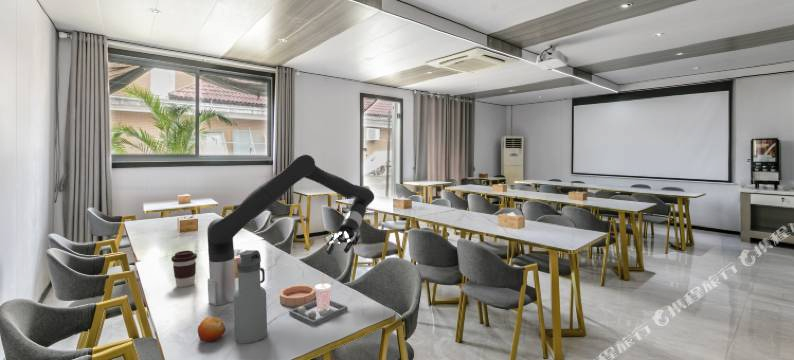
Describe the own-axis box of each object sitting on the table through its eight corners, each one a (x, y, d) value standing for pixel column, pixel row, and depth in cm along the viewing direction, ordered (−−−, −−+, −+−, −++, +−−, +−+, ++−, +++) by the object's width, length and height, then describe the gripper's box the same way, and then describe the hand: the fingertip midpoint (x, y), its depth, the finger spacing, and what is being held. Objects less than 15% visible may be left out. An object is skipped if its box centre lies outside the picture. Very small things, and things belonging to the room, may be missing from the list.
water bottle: (243, 328, 124) (241, 247, 122) (272, 328, 123) (269, 247, 121) (229, 344, 113) (225, 256, 111) (260, 344, 113) (257, 256, 111)
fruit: (198, 329, 120) (210, 309, 120) (220, 340, 121) (232, 320, 121) (186, 342, 112) (199, 320, 112) (209, 354, 113) (222, 332, 112)
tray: (313, 325, 125) (313, 321, 125) (289, 314, 134) (289, 310, 134) (347, 310, 138) (347, 306, 138) (323, 301, 146) (323, 297, 146)
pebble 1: (300, 317, 132) (300, 309, 132) (295, 314, 134) (295, 306, 134) (307, 314, 134) (307, 306, 134) (302, 312, 136) (302, 304, 136)
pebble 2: (311, 321, 128) (311, 313, 128) (306, 319, 130) (305, 311, 130) (318, 318, 131) (317, 310, 130) (312, 316, 132) (312, 308, 132)
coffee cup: (167, 287, 163) (166, 254, 162) (187, 279, 172) (186, 248, 171) (183, 290, 159) (181, 256, 158) (202, 282, 168) (201, 250, 167)
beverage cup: (311, 311, 137) (311, 274, 136) (320, 304, 143) (320, 270, 142) (325, 313, 135) (325, 276, 134) (334, 307, 141) (333, 271, 140)
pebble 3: (323, 319, 130) (322, 310, 130) (317, 316, 132) (317, 308, 132) (329, 316, 133) (329, 308, 133) (324, 313, 135) (323, 306, 134)
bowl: (293, 309, 139) (293, 300, 139) (273, 299, 148) (272, 292, 148) (322, 297, 150) (322, 290, 150) (301, 289, 159) (301, 282, 158)
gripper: (333, 219, 159) (317, 247, 147) (360, 215, 152) (346, 244, 140) (342, 231, 162) (327, 259, 150) (368, 228, 156) (355, 257, 144)
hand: (336, 252), depth 145 cm, fingers open, 8 cm apart
